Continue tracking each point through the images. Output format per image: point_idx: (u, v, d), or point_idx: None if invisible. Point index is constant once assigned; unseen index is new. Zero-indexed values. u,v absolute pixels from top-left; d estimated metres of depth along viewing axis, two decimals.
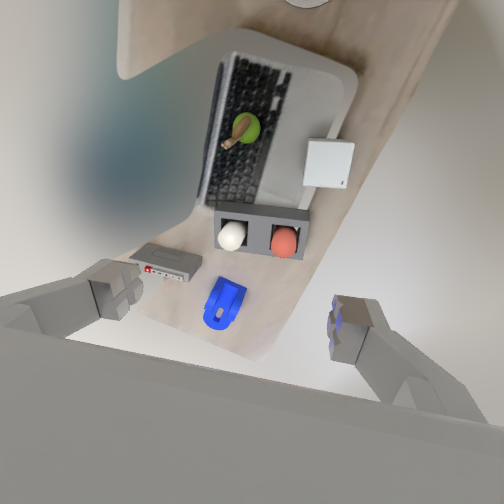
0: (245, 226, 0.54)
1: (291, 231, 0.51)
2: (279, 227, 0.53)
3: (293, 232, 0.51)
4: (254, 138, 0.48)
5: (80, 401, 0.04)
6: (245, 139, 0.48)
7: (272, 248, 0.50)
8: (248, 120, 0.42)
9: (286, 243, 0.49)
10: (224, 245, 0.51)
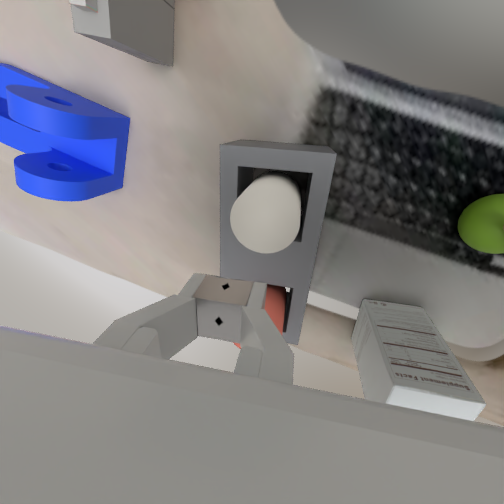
0: None
1: None
2: (282, 293, 0.26)
3: None
4: (473, 244, 0.23)
5: (80, 401, 0.04)
6: (485, 231, 0.21)
7: None
8: None
9: None
10: (245, 206, 0.17)
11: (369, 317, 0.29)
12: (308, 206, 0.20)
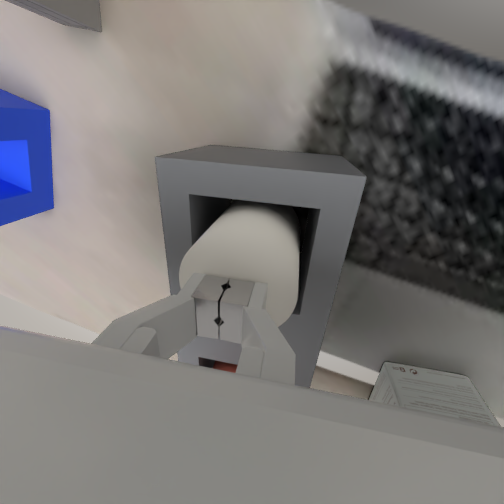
0: None
1: None
2: None
3: None
4: None
5: (80, 401, 0.04)
6: None
7: None
8: None
9: None
10: (203, 263, 0.10)
11: (396, 396, 0.20)
12: (312, 263, 0.12)
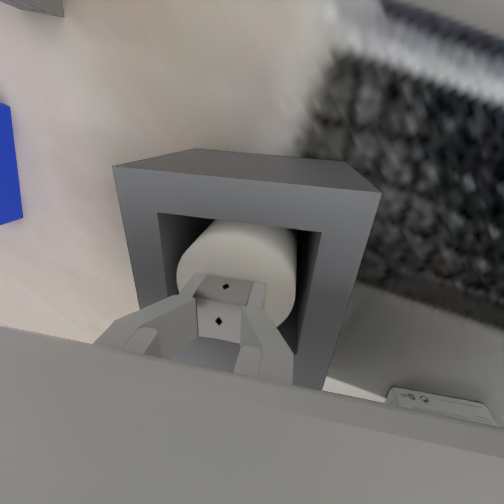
0: None
1: None
2: None
3: None
4: None
5: (80, 401, 0.04)
6: None
7: None
8: None
9: None
10: (201, 264, 0.10)
11: None
12: (311, 296, 0.10)
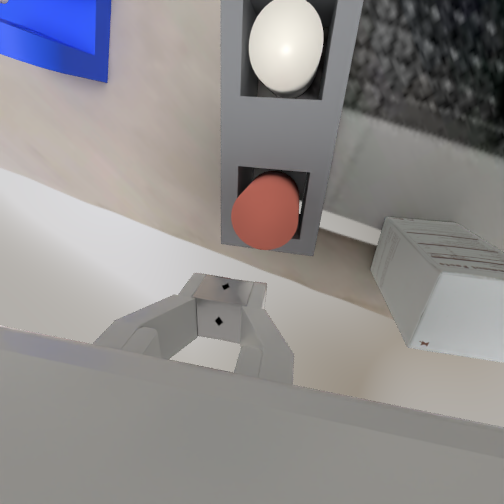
0: (299, 93, 0.22)
1: None
2: (296, 188, 0.22)
3: None
4: None
5: (80, 401, 0.04)
6: None
7: (257, 190, 0.17)
8: None
9: (274, 227, 0.18)
10: (266, 26, 0.16)
11: (396, 228, 0.25)
12: (333, 40, 0.16)
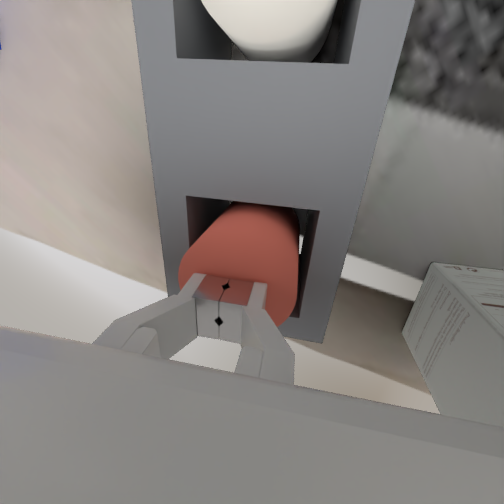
0: None
1: None
2: (294, 222, 0.14)
3: None
4: None
5: (80, 401, 0.04)
6: None
7: (220, 241, 0.09)
8: None
9: None
10: None
11: (457, 290, 0.15)
12: None
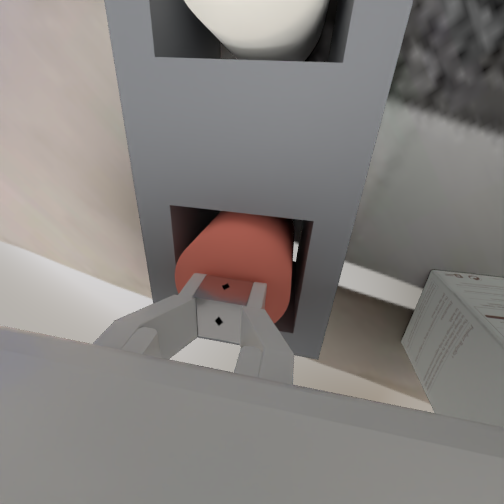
0: None
1: None
2: (288, 223, 0.14)
3: None
4: None
5: (80, 401, 0.04)
6: None
7: (215, 242, 0.10)
8: None
9: None
10: None
11: (459, 300, 0.14)
12: None
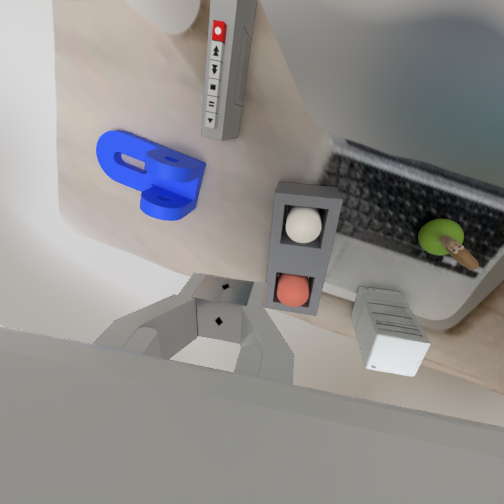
0: None
1: None
2: None
3: None
4: (426, 249, 0.37)
5: (80, 401, 0.04)
6: (431, 241, 0.36)
7: (290, 282, 0.38)
8: (470, 269, 0.32)
9: (297, 297, 0.39)
10: (294, 219, 0.35)
11: (363, 297, 0.43)
12: (326, 227, 0.35)
